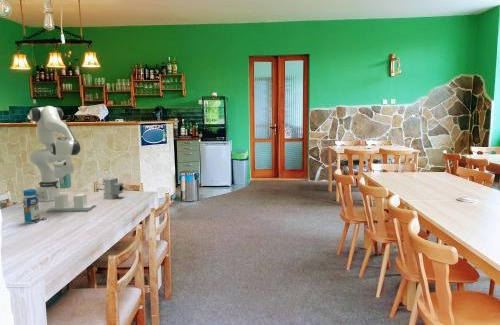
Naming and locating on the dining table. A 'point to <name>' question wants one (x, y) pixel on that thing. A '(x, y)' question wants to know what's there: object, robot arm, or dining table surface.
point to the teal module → (66, 181)
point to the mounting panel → (63, 206)
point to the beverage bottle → (31, 206)
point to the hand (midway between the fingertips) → (65, 182)
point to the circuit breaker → (112, 188)
